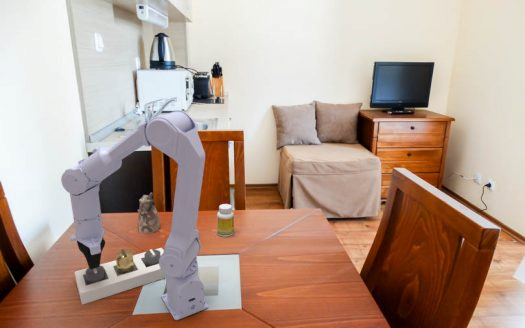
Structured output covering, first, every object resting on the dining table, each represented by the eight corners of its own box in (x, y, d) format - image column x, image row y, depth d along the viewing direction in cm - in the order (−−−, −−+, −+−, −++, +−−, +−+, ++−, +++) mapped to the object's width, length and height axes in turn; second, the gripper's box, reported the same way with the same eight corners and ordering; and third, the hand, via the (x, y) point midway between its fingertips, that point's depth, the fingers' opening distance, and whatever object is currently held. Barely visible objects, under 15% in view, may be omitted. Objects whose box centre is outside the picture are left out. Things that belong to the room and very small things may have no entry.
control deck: (174, 274, 92) (174, 264, 91) (82, 304, 80) (80, 293, 79) (162, 256, 100) (161, 247, 99) (76, 281, 88) (74, 271, 87)
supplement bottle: (216, 230, 116) (216, 203, 113) (232, 228, 117) (232, 202, 114) (218, 238, 111) (217, 210, 108) (234, 236, 112) (234, 209, 109)
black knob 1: (107, 287, 86) (105, 269, 84) (89, 293, 83) (86, 275, 82) (103, 279, 89) (101, 261, 87) (86, 284, 87) (84, 266, 85)
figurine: (133, 229, 115) (130, 195, 111) (150, 221, 121) (147, 189, 117) (148, 235, 111) (145, 201, 108) (164, 227, 117) (162, 193, 114)
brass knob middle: (135, 271, 89) (134, 253, 87) (119, 276, 87) (117, 258, 85) (131, 263, 92) (130, 246, 90) (115, 268, 90) (113, 251, 88)
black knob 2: (163, 269, 93) (162, 253, 92) (148, 274, 91) (146, 257, 90) (158, 262, 96) (157, 246, 95) (143, 267, 94) (142, 250, 93)
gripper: (64, 208, 84) (72, 257, 88) (71, 232, 73) (80, 288, 77) (96, 202, 88) (102, 249, 92) (108, 224, 76) (114, 278, 80)
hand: (94, 266), depth 84 cm, fingers closed
